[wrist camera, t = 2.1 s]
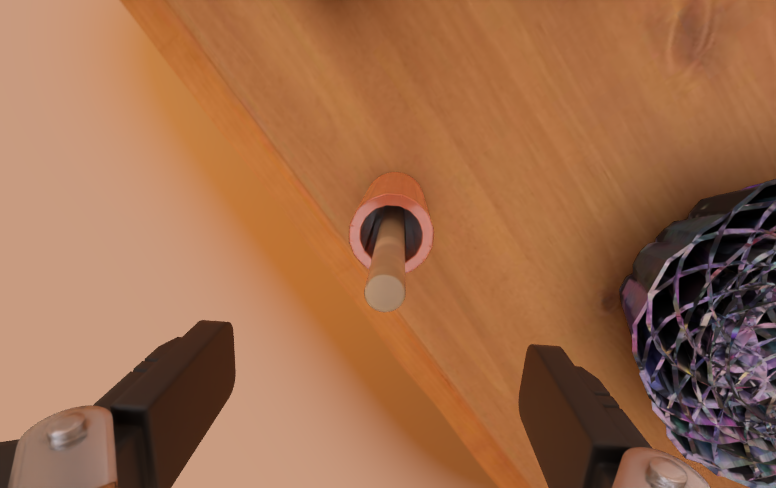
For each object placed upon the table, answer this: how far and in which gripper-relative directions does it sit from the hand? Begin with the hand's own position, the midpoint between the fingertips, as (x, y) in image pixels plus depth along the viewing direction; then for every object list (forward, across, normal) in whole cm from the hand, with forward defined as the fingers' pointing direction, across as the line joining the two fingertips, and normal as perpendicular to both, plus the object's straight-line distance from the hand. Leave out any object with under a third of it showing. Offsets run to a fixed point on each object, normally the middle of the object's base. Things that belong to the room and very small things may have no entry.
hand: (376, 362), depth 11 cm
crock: (+25, 0, 0) cm, 25 cm away
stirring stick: (+25, 0, 0) cm, 25 cm away
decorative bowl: (+26, -32, +7) cm, 42 cm away
